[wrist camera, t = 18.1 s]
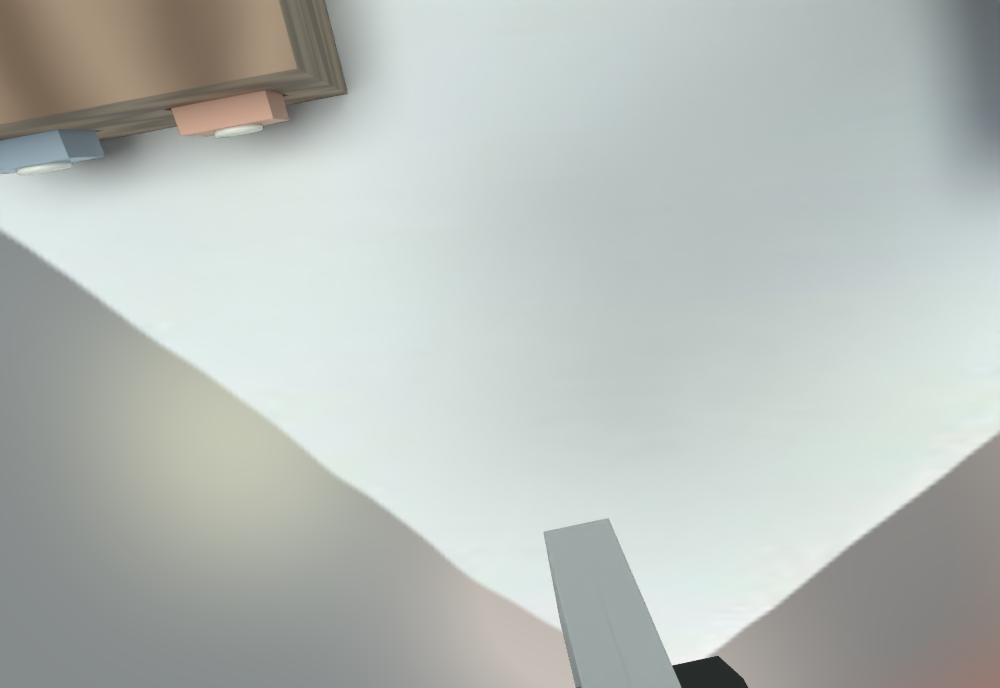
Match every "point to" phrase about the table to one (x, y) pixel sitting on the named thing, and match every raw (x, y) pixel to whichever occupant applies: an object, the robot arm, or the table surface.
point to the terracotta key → (231, 115)
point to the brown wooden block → (155, 60)
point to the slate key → (48, 151)
